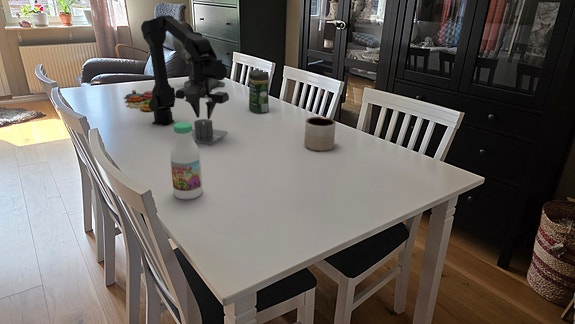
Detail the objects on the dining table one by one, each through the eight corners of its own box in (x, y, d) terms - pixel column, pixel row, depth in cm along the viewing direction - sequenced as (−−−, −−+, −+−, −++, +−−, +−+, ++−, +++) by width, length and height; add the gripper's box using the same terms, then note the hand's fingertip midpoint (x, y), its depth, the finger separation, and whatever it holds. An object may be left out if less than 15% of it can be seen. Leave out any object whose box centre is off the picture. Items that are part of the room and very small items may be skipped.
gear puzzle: (166, 112, 174) (166, 103, 172) (128, 115, 167) (127, 106, 166) (156, 95, 199) (155, 87, 197) (123, 97, 193) (122, 89, 191)
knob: (195, 132, 147) (194, 119, 145) (212, 131, 148) (211, 118, 146) (195, 138, 141) (194, 124, 139) (213, 137, 142) (212, 123, 140)
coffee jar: (246, 109, 180) (245, 69, 172) (261, 107, 184) (261, 67, 176) (256, 114, 172) (255, 73, 165) (271, 112, 176) (271, 71, 169)
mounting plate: (180, 140, 141) (179, 128, 139) (197, 129, 153) (197, 117, 151) (212, 145, 138) (211, 132, 136) (227, 133, 149) (227, 121, 147)
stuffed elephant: (174, 89, 208) (170, 37, 197) (197, 82, 226) (194, 34, 214) (204, 94, 201) (201, 40, 190) (225, 86, 219) (224, 36, 208)
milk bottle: (176, 186, 109) (170, 119, 101) (204, 186, 110) (199, 119, 102) (171, 200, 102) (163, 129, 94) (201, 200, 103) (196, 129, 95)
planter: (336, 143, 144) (338, 118, 140) (329, 153, 135) (332, 128, 131) (308, 139, 147) (310, 115, 143) (300, 149, 138) (301, 123, 134)
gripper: (164, 77, 131) (169, 121, 137) (214, 83, 126) (216, 128, 133) (182, 71, 141) (185, 112, 147) (228, 76, 136) (230, 118, 142)
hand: (203, 118), depth 142 cm, fingers open, 4 cm apart
